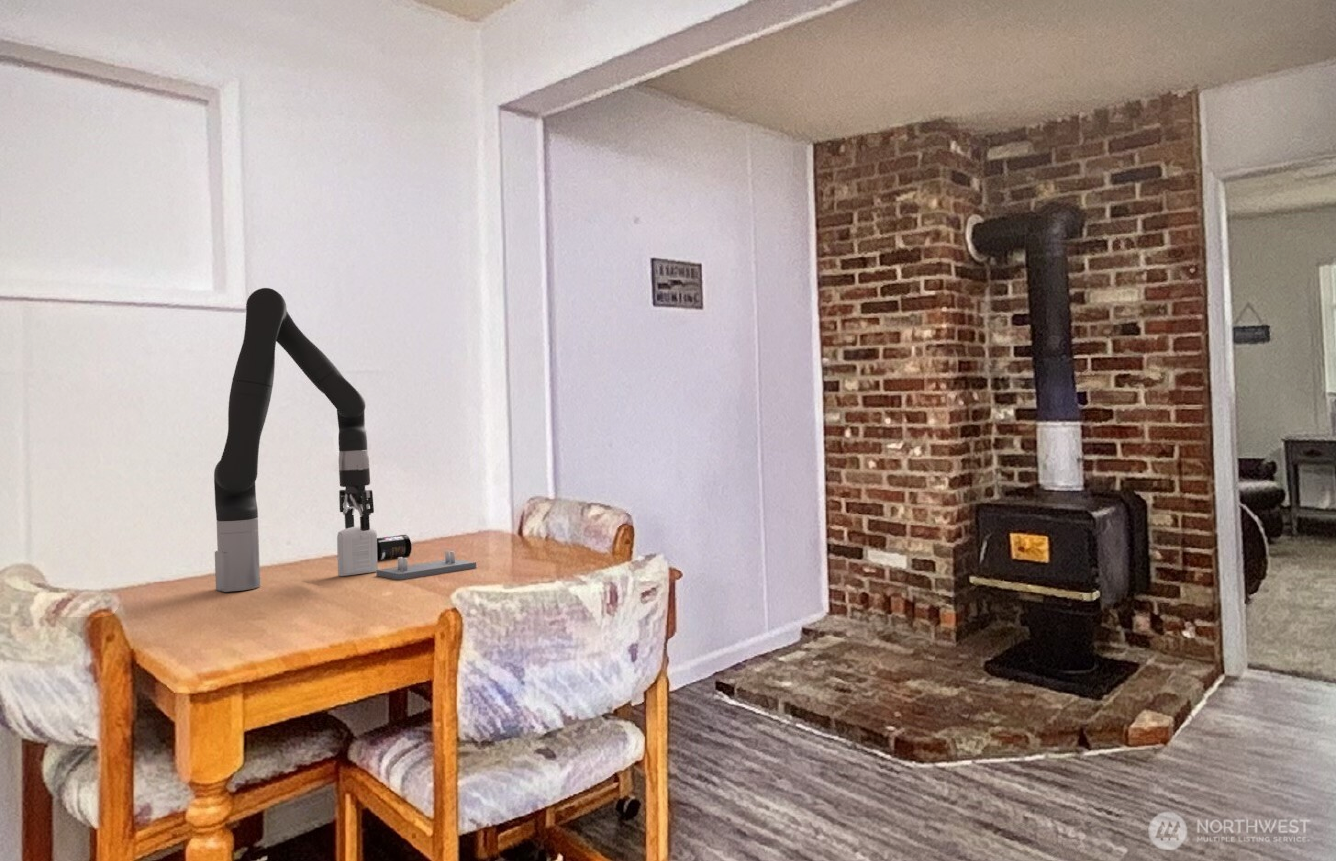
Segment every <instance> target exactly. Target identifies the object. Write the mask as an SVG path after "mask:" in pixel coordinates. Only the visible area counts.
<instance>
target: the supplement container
mask: <svg viewBox="0 0 1336 861" xmlns="http://www.w3.org/2000/svg"><path fill="white" fill-rule="evenodd" d="M411 553H412V541H411V538H410V537H409V536H408V535H407V534H399V535H391V536H382V537H377V562H378V560H379V561H384V559H386V560H390V558H392V559H397V558H396V557H403V558H406V557H409V556H411Z"/></svg>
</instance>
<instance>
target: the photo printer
mask: <svg viewBox="0 0 1336 861" xmlns="http://www.w3.org/2000/svg"><path fill="white" fill-rule="evenodd" d="M377 534H378V533H377V530H376V529H375V528H373V527H370V529H369V530H366V531H361V529H360V525H359V526H354V527H351V528H347V529H346V528H344V529H343V530H340V531H338V532H337V537H336V541H337V542H336V545H337V546H336V549H337V574H338V576H339V577H347V576H355V575H363V574H369V573H371V574H372V573H376V570H379V569H378V561H377V538H378V535H377Z"/></svg>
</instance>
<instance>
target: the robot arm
mask: <svg viewBox="0 0 1336 861" xmlns="http://www.w3.org/2000/svg"><path fill="white" fill-rule="evenodd" d="M245 310H246V311H245V327H244V333H243V334H244V336H243V341H242V345H241V348H240V352H239V355H238V358H237V361H236V364H235V369H234V372H233V377H232V380H231V387H230V392H229V398H228V412H227V413H228V414H227V421H228V422H227V424H228V425H227V435H226V440H225V443H224V444H225V445H224V449H223V452H222V454H221V458H220V460H219V461H218V462H217V464H216V465H215V468H214V471H213V482H214V483H213V484H214V487H213V488H214V505H215V506H214V507H215V516H216V517H215V518H216V540H217V541H216V543H217V545H216V546H217V548H216V549H217V550H216V551H214V571H215V573H214V574H215V590H216V591H219V592H222V593H229V592H239V591H247V590H252V589H257V588H259V587H261V567H260V544H259V542H260V541H259V540H260V539H259V516H258V514H259V512H258V511H259V509H258V505H257V504H258V503H257V495H256V494H257V493H256V480H257V478H258V471H259V470H258V467H259V466H258V465H259V450H260V443H261V442H260V441H261V436H262V432H263V430H264V426H265V422H266V419H267V415H268V412H269V406H270V403H271V398H272V397H271V396H272V392H273V386H274V379H275V367H276V345H277V344H279V346H280V347H282V349H283V350H284V351H285V353H287V354H288V355H289V357H290V358H291V359H292V360H293V361H294V363H295V364H296V365H297V367H298V368H299V369H300V370H301V371H302V372H303V374H304V375H305V376H306V377H307V378H308V380H310V381H311V383H312V384H313V385H314V386H315V387H316V388H317V389H318V390H319V391H320V393H322V394H324V396H326V398H327V399H328V401H329V402H330V403H331V404H332V405H333V407H334V409H336V415H337V416H336V417H337V424H338V425H337V427H338V440H337V441H338V473H339V474H338V477H339V478H338V479H339V486H340V487H342V488H345V489H339V491H338V493H339V494H338V496H339V498H338V499H339V500H338V501H339V502H338V503H339V512H340V513H342V514H343V516H344V529H347V528H351V527H355V515H354V513H355V510H357V511H358V513H359V523H360V524H359V526H360V529H361V531H366V530H369V529H370V528H371V526H370V516H371V515H372V514H374V513H375V508H374V497H373V496H374V495H373V490H372V489H368V490H367V489H366V486H369V485H371V478H370V477H371V475H370V458H369V453H368V440H367V439H368V438H367V431H366V422H365V420H366V419H365V418H366V417H365V409H366V401H365V398H364V397H363V396H362V394H361V393H360V392H359V391H358V390H357V389H356V388H355V387H354V386H353V385H352V384H351V383H350V382H349V381H348V380H347V379H346V378H345V377H344V375H343V374H342V373H341V371H340V370H339V369H338V368H337V367H336V366H335V364H334V363H333V362H332V361H331V360H330V359H329V358H328V357H327V355H325V353H324V352H323V351H321V349H319V348H318V346H316V345H315V343H313V342H312V341H311V340H310V339H309V338H308V337H307V336H306V335H305V333H303V332H302V331H301V329H300V328H299V327H298V326H297V324H296V323H295V322H294V320H293V318H292V317H291V316H290V314H289V312H288V310H287V303H286V300H285V299H284V297H283V296H282V294H280V292H278V291H276V290H275V289H273V288H269V287H262V288H261V287H260V288H259V289H256V290H255V291H253V292H252V293H251V294H250V295H249V296H248V298H247V300H246V303H245Z"/></svg>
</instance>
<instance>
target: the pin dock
mask: <svg viewBox="0 0 1336 861" xmlns="http://www.w3.org/2000/svg"><path fill="white" fill-rule="evenodd" d="M444 556H445V557H444V558H445V559H443V560H441V559H440V560H436V561H430V562H429V561H428V562H421V563H415V564H409V565H408V557H398V558H397V566H394V567H388V568H380V569H378V570H376V572H375V573H376V577H381V578H387V579H393V580H398V581H402V580H408V579H413V578H414V579H415V578H421V577H426V576H435V575H441V574H447V573H453V572H459V571H465V570H471V569H476V568H477V561H476V562H475V561H472V560H471V561H470V560H461V559H456V552H455V551H452V550H451V551H450V550H445V551H444Z"/></svg>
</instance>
